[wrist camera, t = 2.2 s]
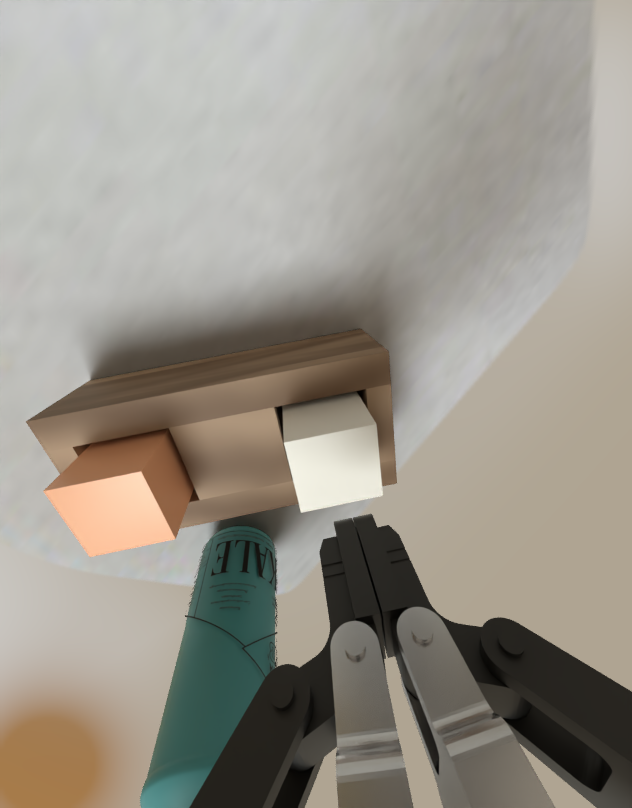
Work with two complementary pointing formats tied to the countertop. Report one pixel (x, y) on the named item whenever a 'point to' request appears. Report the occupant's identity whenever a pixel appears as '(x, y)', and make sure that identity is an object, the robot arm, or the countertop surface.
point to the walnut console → (227, 416)
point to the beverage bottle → (215, 663)
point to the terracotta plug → (124, 493)
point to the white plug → (332, 451)
